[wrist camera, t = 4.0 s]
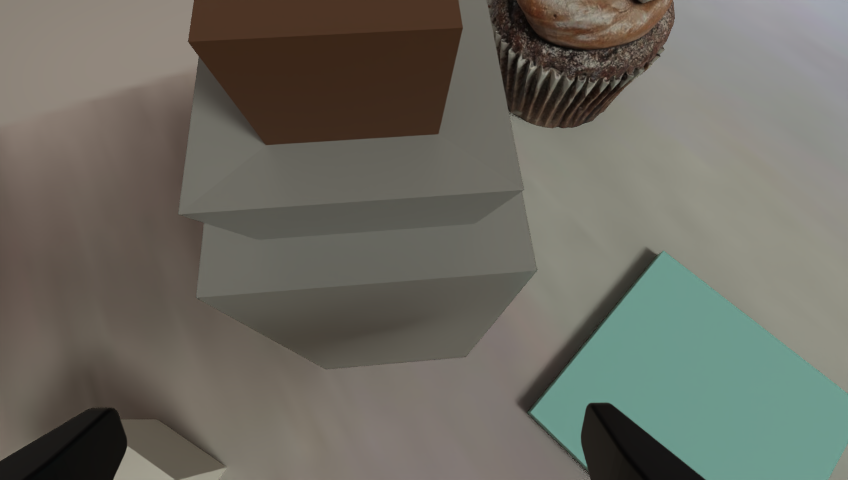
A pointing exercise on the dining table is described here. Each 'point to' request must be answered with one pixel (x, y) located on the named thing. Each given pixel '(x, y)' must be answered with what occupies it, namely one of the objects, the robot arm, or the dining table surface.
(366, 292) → the perfume bottle
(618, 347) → the teal tile
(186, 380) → the dining table surface
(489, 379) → the dining table surface
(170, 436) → the grey block
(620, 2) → the cupcake
